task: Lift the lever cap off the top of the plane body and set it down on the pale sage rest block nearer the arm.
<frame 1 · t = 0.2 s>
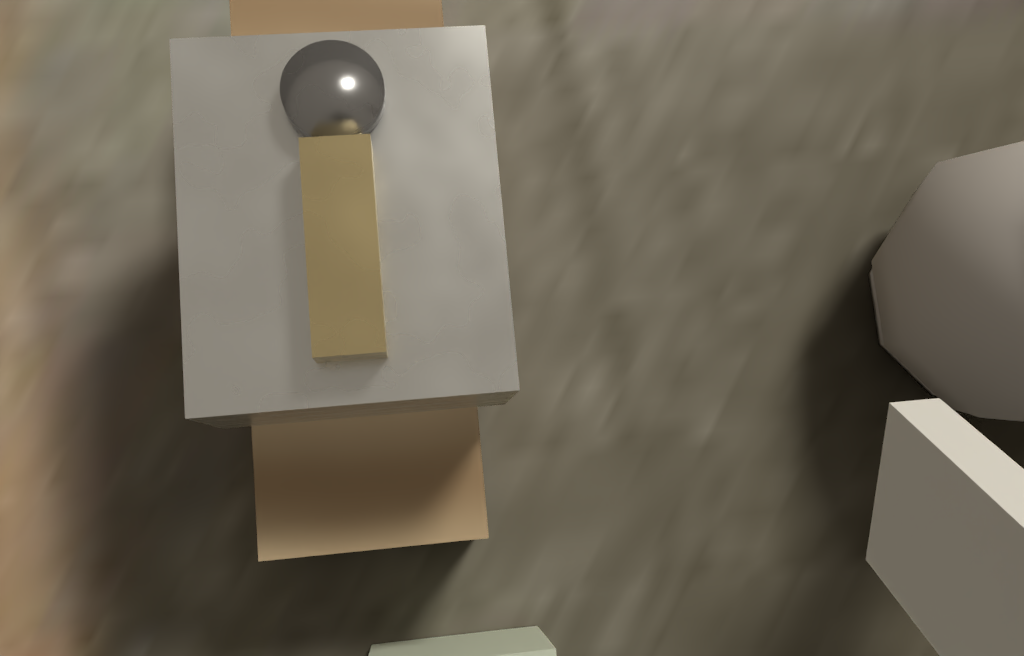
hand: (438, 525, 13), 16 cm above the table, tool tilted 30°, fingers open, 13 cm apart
potion bottle: (962, 299, 32), on the table
plane body: (363, 283, 30), on the table
lever cap: (354, 253, 26), point 4 cm above the table, touching plane body
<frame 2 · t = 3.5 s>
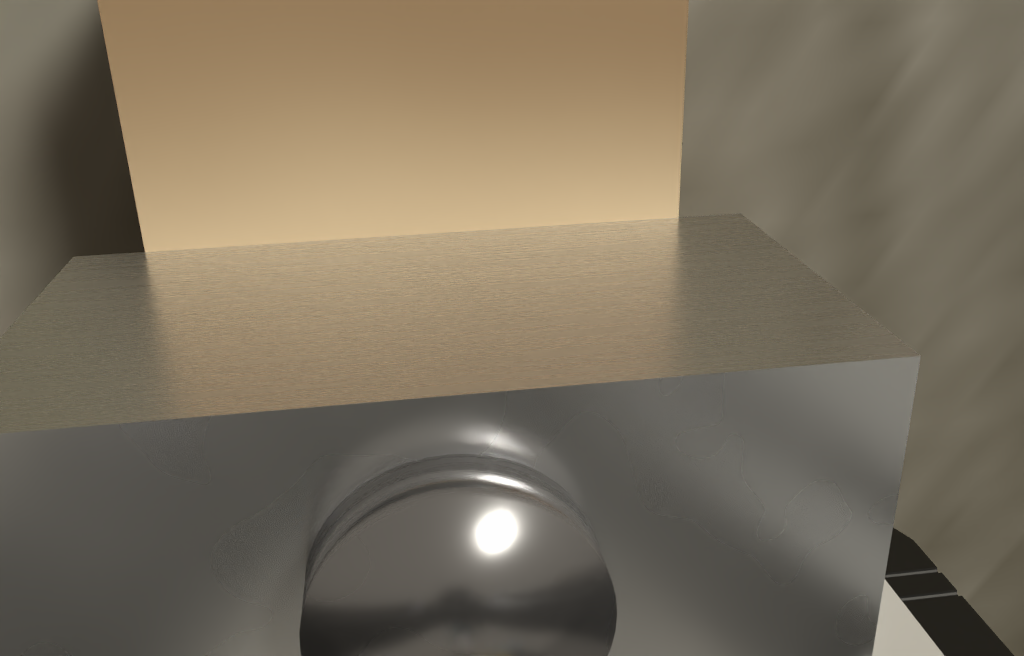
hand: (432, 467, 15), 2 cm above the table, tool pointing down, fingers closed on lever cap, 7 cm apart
plane body: (426, 415, 16), on the table
lever cap: (442, 561, 12), point 4 cm above the table, touching gripper, plane body
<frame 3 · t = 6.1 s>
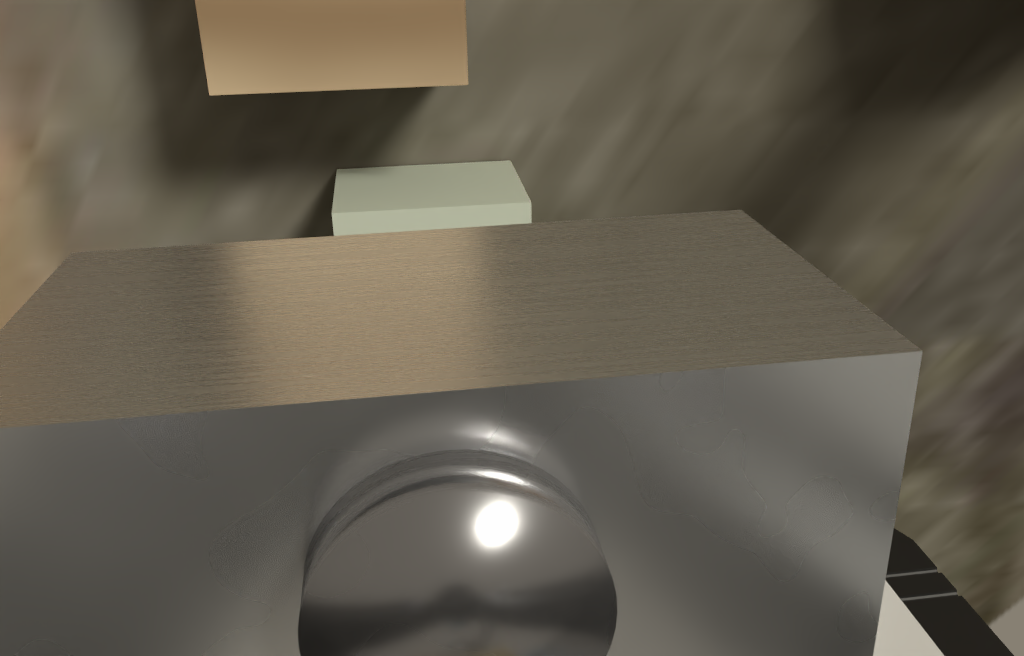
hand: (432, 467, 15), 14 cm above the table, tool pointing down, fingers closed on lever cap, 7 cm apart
rest block: (433, 321, 29), on the table
lever cap: (441, 558, 12), point 17 cm above the table, touching gripper
when the fingers open (3 cm above the table, at t = 9.0 s): lever cap drops 2 cm, resting on rest block.
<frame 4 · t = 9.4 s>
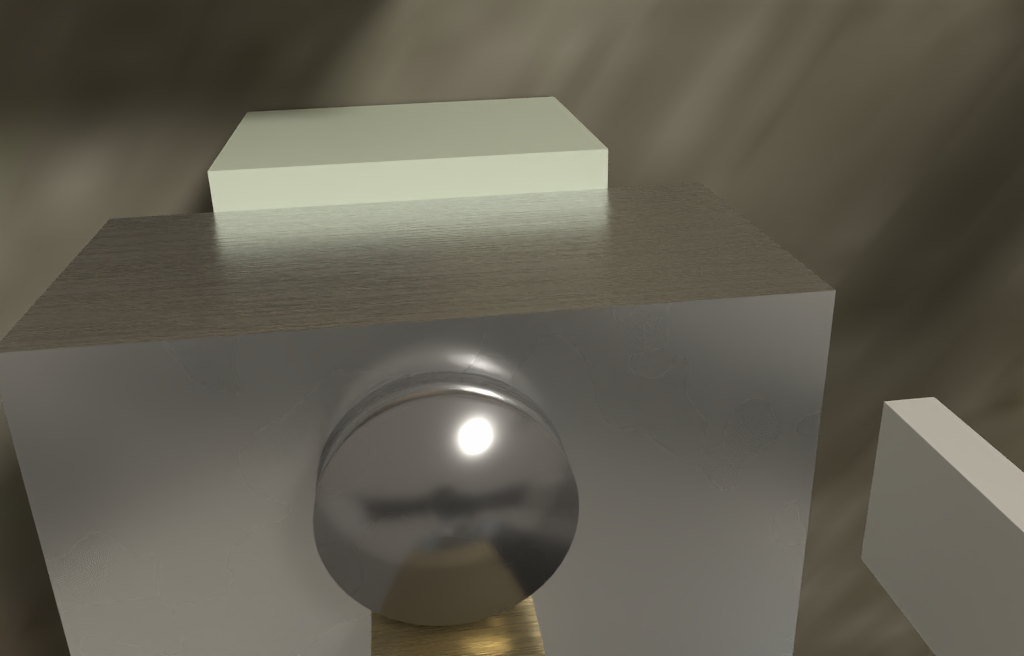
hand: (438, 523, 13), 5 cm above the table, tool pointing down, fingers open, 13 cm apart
rest block: (422, 377, 17), on the table
lever cap: (435, 498, 14), point 4 cm above the table, touching rest block
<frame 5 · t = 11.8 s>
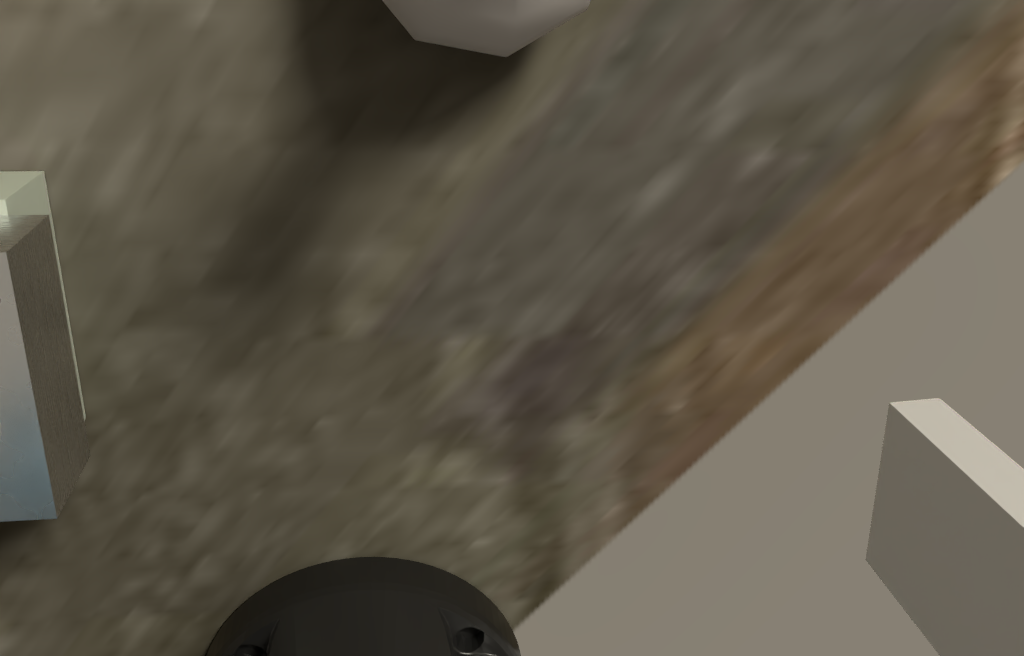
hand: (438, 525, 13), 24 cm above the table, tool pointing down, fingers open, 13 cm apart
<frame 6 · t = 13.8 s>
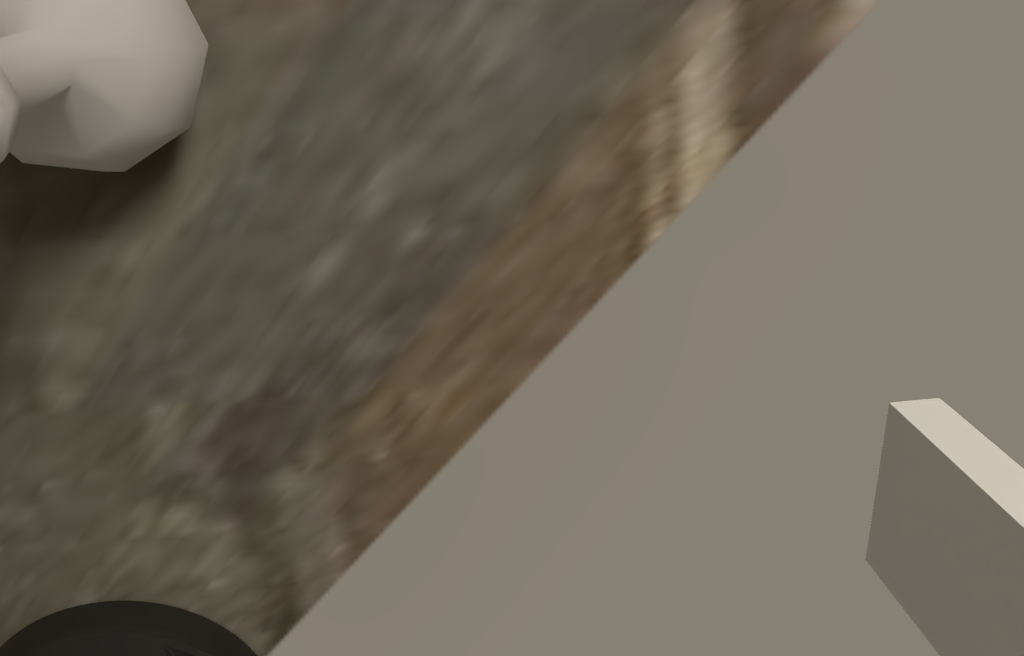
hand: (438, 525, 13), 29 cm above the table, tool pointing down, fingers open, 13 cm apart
potion bottle: (103, 35, 37), on the table
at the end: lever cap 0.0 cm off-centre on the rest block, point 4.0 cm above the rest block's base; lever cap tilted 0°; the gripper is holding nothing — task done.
